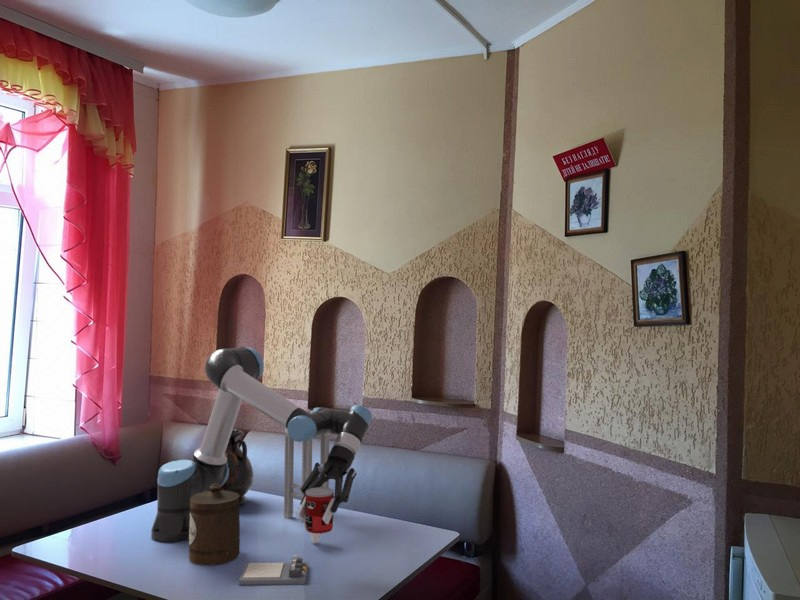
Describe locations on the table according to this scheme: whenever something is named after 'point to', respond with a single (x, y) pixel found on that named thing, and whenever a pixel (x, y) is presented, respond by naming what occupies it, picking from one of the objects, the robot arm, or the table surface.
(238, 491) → the amphora vase
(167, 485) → the robot arm
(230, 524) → the wooden container
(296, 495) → the stool
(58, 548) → the table surface
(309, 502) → the canned food
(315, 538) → the lightbulb
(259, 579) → the breaker board
